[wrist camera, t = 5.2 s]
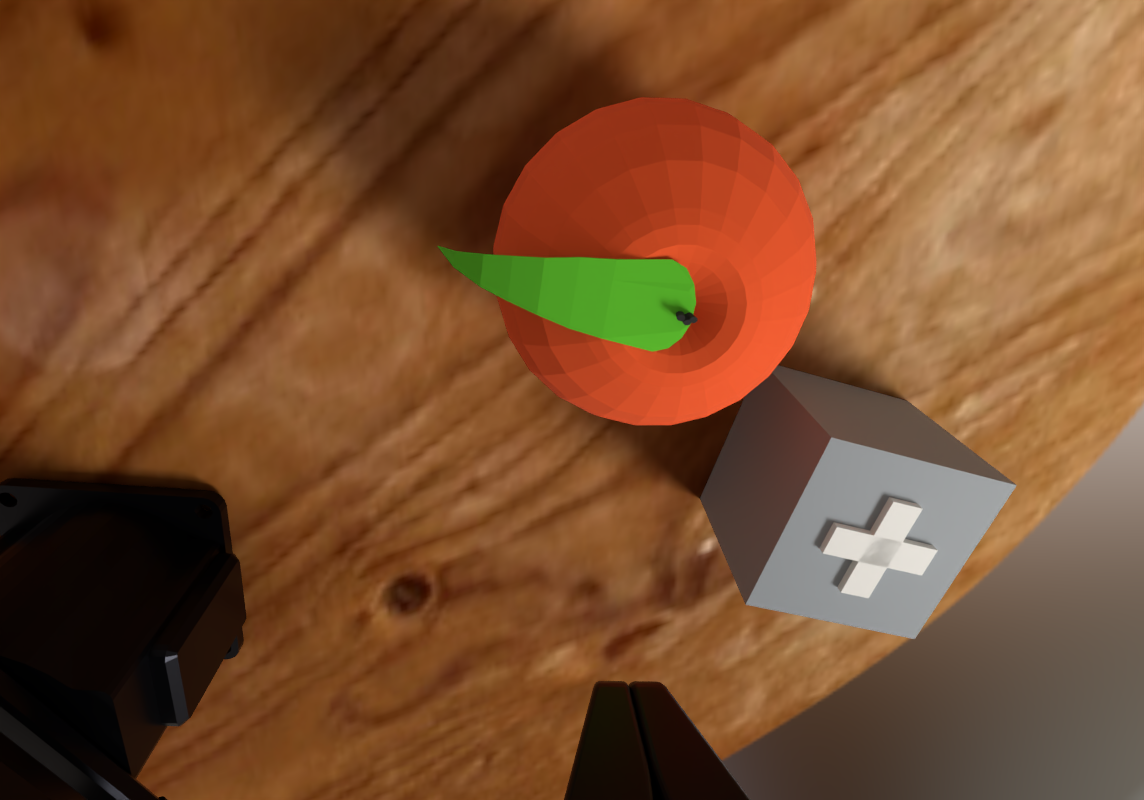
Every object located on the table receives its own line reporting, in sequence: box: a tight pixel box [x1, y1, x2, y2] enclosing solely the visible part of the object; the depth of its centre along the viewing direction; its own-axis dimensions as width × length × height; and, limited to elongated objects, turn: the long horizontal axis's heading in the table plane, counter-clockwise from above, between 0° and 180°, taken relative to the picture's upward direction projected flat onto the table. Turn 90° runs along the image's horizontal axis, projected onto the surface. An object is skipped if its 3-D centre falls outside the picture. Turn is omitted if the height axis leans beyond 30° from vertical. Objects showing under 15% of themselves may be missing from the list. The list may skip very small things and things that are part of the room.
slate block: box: [700, 365, 1017, 639], centre depth 18 cm, size 5×5×5 cm
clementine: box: [438, 97, 816, 425], centre depth 14 cm, size 8×7×7 cm
